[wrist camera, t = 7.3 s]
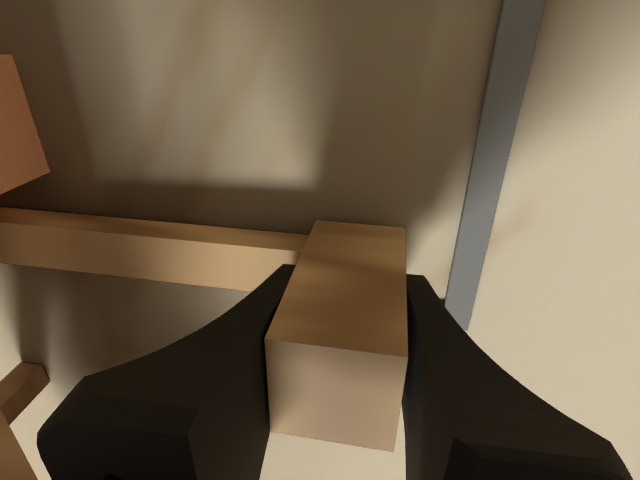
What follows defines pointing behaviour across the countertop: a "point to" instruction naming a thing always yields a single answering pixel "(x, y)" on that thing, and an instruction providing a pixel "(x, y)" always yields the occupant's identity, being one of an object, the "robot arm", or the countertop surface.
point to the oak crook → (292, 313)
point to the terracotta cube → (17, 132)
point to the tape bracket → (492, 149)
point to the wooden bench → (3, 408)
